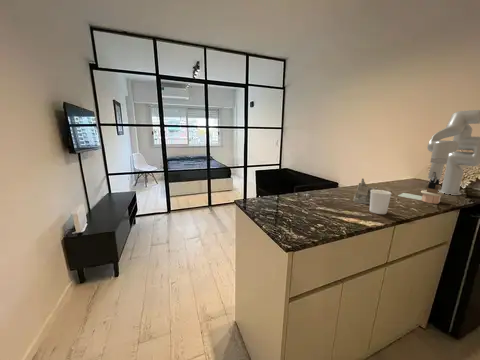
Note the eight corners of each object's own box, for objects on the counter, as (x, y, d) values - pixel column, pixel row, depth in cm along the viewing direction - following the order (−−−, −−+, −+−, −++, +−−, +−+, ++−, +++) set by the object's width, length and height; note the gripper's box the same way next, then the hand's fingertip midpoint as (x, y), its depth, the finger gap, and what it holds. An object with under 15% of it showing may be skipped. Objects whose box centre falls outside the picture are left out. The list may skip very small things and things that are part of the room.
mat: (403, 193, 156) (403, 192, 156) (425, 197, 146) (425, 196, 146) (397, 196, 148) (397, 195, 148) (420, 201, 138) (420, 200, 138)
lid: (423, 190, 142) (424, 182, 140) (445, 194, 133) (447, 185, 132) (418, 193, 135) (420, 184, 134) (441, 197, 127) (443, 187, 125)
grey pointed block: (350, 200, 139) (354, 179, 135) (357, 196, 150) (362, 176, 146) (376, 208, 128) (382, 184, 124) (382, 203, 139) (388, 181, 136)
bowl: (423, 199, 141) (425, 191, 140) (439, 203, 135) (441, 194, 133) (420, 202, 136) (421, 193, 135) (437, 205, 130) (439, 196, 128)
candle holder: (385, 216, 112) (388, 195, 110) (365, 211, 120) (368, 191, 117) (390, 212, 119) (393, 192, 116) (371, 207, 126) (373, 188, 123)
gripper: (433, 159, 138) (428, 184, 141) (427, 161, 127) (422, 188, 131) (449, 160, 132) (443, 186, 135) (444, 162, 122) (438, 190, 125)
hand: (433, 187), depth 133 cm, fingers open, 9 cm apart
